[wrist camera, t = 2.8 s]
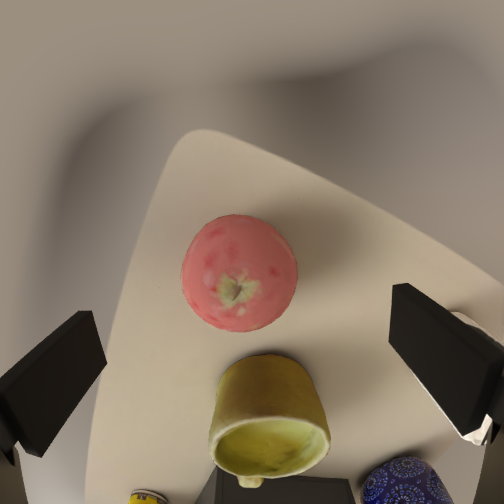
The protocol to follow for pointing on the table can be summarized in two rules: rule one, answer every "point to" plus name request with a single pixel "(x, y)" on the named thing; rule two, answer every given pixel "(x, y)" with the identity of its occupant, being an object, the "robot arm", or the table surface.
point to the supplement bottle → (146, 498)
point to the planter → (404, 484)
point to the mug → (267, 421)
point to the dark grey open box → (275, 490)
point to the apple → (239, 274)
